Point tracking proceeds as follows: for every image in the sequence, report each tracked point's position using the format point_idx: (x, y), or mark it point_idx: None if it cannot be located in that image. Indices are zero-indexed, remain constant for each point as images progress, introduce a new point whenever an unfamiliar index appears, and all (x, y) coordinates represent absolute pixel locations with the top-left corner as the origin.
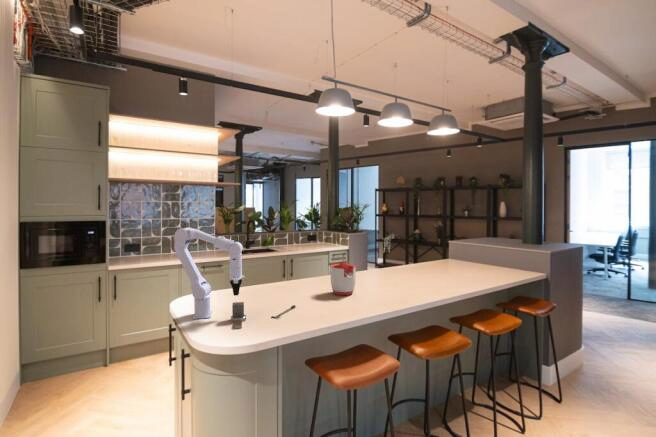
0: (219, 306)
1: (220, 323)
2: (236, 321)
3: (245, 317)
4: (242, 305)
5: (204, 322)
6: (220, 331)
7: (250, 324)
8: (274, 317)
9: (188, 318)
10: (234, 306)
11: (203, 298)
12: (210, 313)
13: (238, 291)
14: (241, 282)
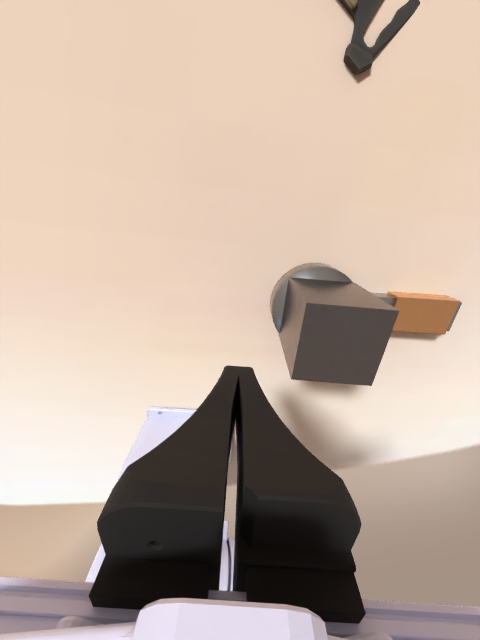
0: (51, 375)
1: None
2: None
3: (339, 271)
4: (393, 318)
5: None
6: (431, 381)
7: (416, 246)
8: (360, 40)
9: None
10: (372, 368)
11: (227, 533)
12: (182, 414)
13: (261, 392)
14: (344, 492)
